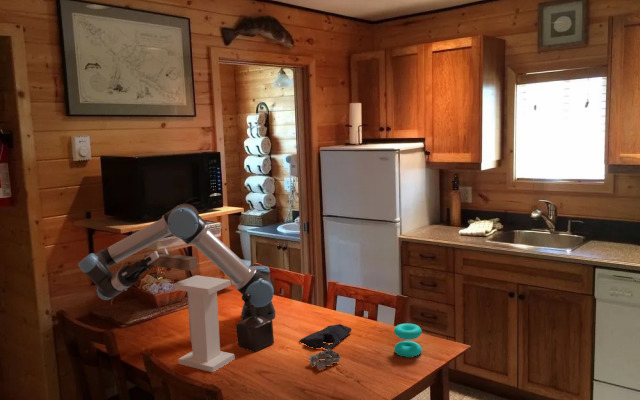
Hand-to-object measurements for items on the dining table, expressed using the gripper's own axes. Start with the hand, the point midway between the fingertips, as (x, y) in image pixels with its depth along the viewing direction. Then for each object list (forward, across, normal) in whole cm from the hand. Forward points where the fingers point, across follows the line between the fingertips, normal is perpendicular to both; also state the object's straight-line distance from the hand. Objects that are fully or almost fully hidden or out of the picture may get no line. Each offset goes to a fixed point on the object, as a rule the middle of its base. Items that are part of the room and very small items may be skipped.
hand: (161, 253), depth 202 cm
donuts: (+51, -39, -75) cm, 98 cm away
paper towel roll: (-17, -15, -36) cm, 42 cm away
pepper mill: (0, -22, -45) cm, 50 cm away
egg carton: (+30, -18, -63) cm, 72 cm away
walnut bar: (+1, 0, -6) cm, 6 cm away
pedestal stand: (-4, -1, -43) cm, 43 cm away
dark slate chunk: (+21, -38, -58) cm, 73 cm away
